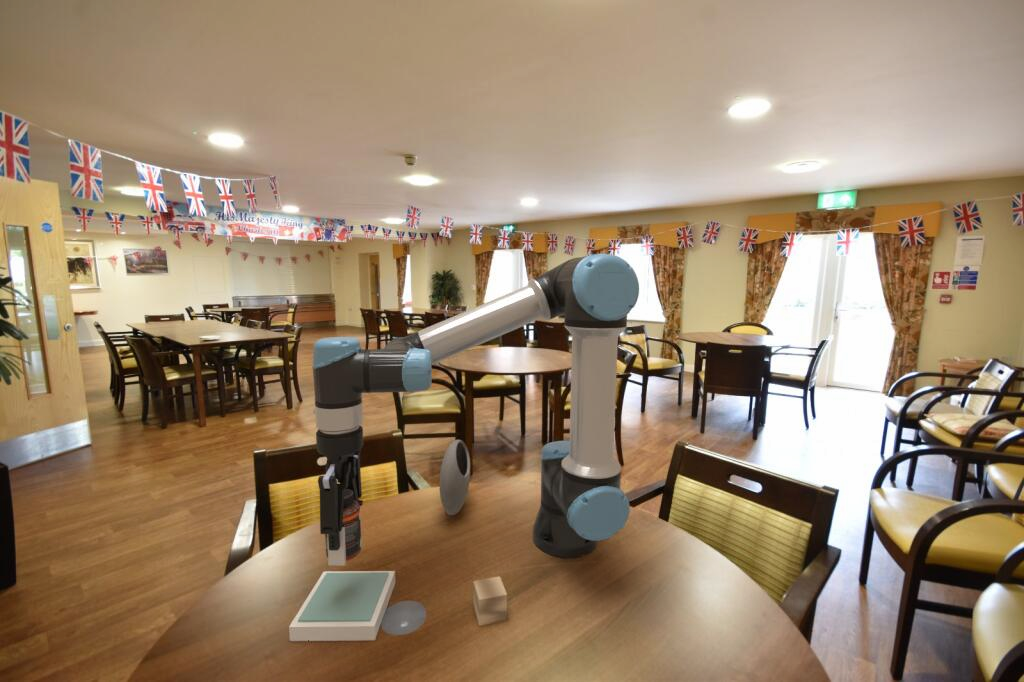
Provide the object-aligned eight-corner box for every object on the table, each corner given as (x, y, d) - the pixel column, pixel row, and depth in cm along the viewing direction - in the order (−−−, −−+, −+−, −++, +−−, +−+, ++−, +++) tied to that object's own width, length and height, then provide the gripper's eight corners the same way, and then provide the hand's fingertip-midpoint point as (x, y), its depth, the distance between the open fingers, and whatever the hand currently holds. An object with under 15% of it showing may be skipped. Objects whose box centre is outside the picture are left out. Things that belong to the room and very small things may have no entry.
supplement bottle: (368, 545, 80) (366, 487, 78) (349, 566, 74) (347, 503, 72) (338, 541, 81) (336, 484, 79) (318, 561, 75) (315, 499, 74)
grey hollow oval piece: (462, 530, 104) (461, 456, 102) (433, 529, 105) (432, 455, 103) (474, 494, 123) (474, 430, 120) (450, 493, 123) (449, 429, 121)
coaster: (429, 604, 81) (429, 600, 81) (422, 638, 73) (422, 634, 73) (386, 605, 81) (386, 601, 81) (374, 639, 73) (374, 635, 73)
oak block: (499, 600, 81) (499, 576, 81) (506, 620, 77) (507, 594, 76) (473, 605, 80) (473, 581, 79) (479, 626, 75) (479, 600, 75)
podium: (395, 583, 86) (395, 569, 85) (374, 640, 72) (374, 623, 72) (324, 583, 85) (323, 569, 85) (289, 641, 72) (288, 624, 71)
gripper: (338, 411, 84) (342, 523, 87) (291, 447, 65) (298, 589, 68) (377, 411, 84) (380, 523, 87) (341, 447, 65) (346, 588, 68)
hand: (344, 552), depth 77 cm, fingers closed on supplement bottle, 6 cm apart
